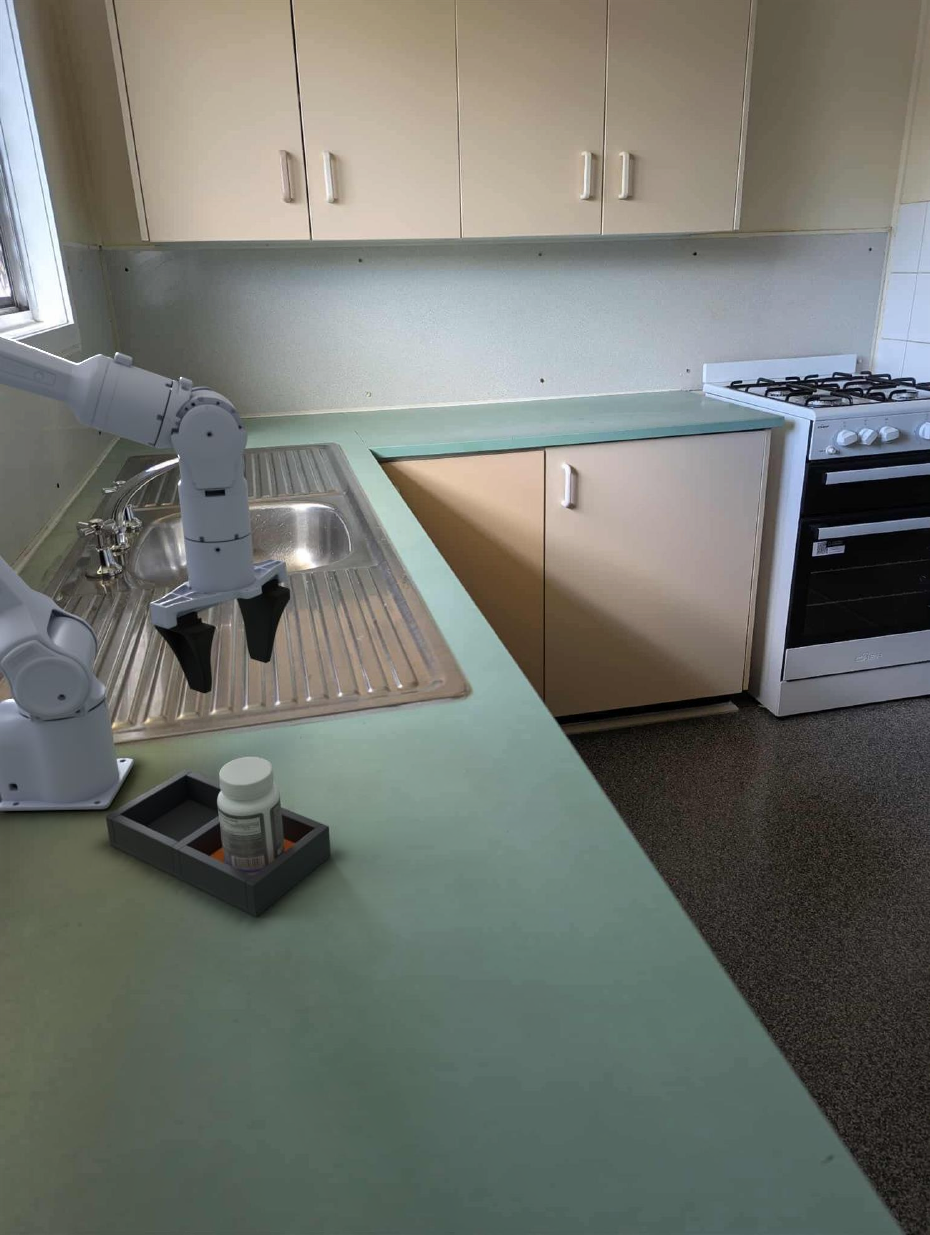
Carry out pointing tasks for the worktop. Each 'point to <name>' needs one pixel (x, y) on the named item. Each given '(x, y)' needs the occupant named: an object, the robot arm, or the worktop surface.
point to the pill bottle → (250, 814)
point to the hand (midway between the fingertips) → (231, 674)
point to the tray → (211, 843)
